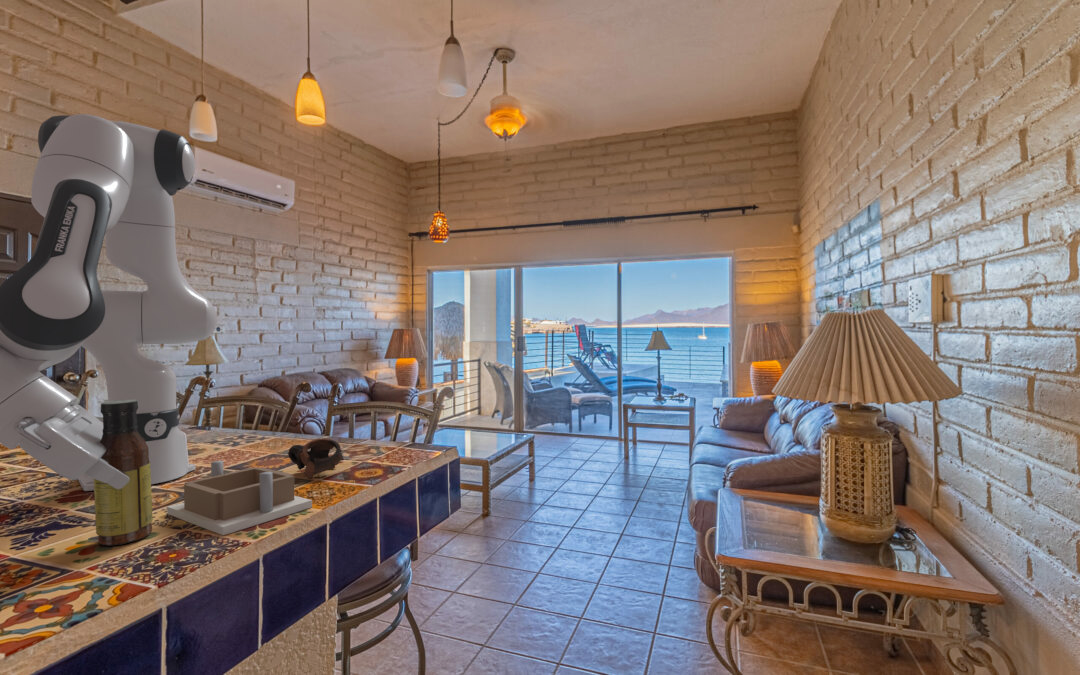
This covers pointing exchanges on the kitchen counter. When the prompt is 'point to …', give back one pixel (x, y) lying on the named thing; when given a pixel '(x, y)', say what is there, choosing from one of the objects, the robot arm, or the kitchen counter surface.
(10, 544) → the kitchen counter surface
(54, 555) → the kitchen counter surface
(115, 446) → the sauce bottle
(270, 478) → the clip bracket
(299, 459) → the pottery mug
